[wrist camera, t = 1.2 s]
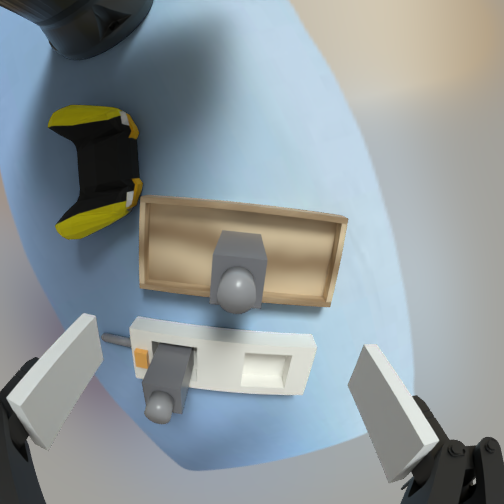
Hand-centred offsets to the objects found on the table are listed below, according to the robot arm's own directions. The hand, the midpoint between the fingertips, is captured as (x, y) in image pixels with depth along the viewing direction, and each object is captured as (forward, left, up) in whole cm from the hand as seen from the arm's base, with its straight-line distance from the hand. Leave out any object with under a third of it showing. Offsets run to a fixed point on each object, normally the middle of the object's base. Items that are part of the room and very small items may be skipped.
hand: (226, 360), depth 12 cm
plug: (0, 0, -18) cm, 18 cm away
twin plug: (+14, -6, -18) cm, 23 cm away
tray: (0, 0, -19) cm, 19 cm away
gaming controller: (-8, -16, -19) cm, 26 cm away
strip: (+14, -3, -19) cm, 23 cm away
